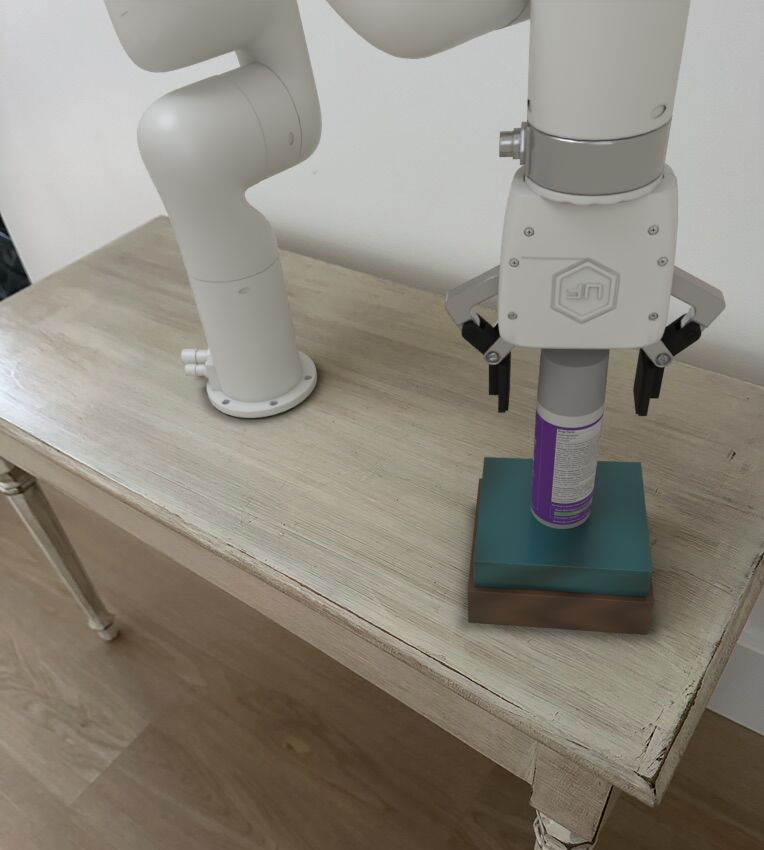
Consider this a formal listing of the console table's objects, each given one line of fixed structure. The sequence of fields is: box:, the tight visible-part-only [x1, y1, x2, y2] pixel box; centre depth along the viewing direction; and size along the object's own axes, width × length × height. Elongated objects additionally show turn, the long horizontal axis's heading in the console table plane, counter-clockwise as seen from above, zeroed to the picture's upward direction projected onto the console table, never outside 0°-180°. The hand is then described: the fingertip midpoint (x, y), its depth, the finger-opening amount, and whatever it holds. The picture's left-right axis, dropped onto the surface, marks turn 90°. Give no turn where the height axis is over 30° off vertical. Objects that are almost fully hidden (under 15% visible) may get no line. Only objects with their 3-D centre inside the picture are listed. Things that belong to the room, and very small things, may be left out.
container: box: [531, 349, 611, 529], centre depth 58 cm, size 5×5×15 cm
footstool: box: [466, 456, 655, 635], centre depth 65 cm, size 14×13×7 cm
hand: (570, 402), depth 55 cm, fingers open, 8 cm apart
